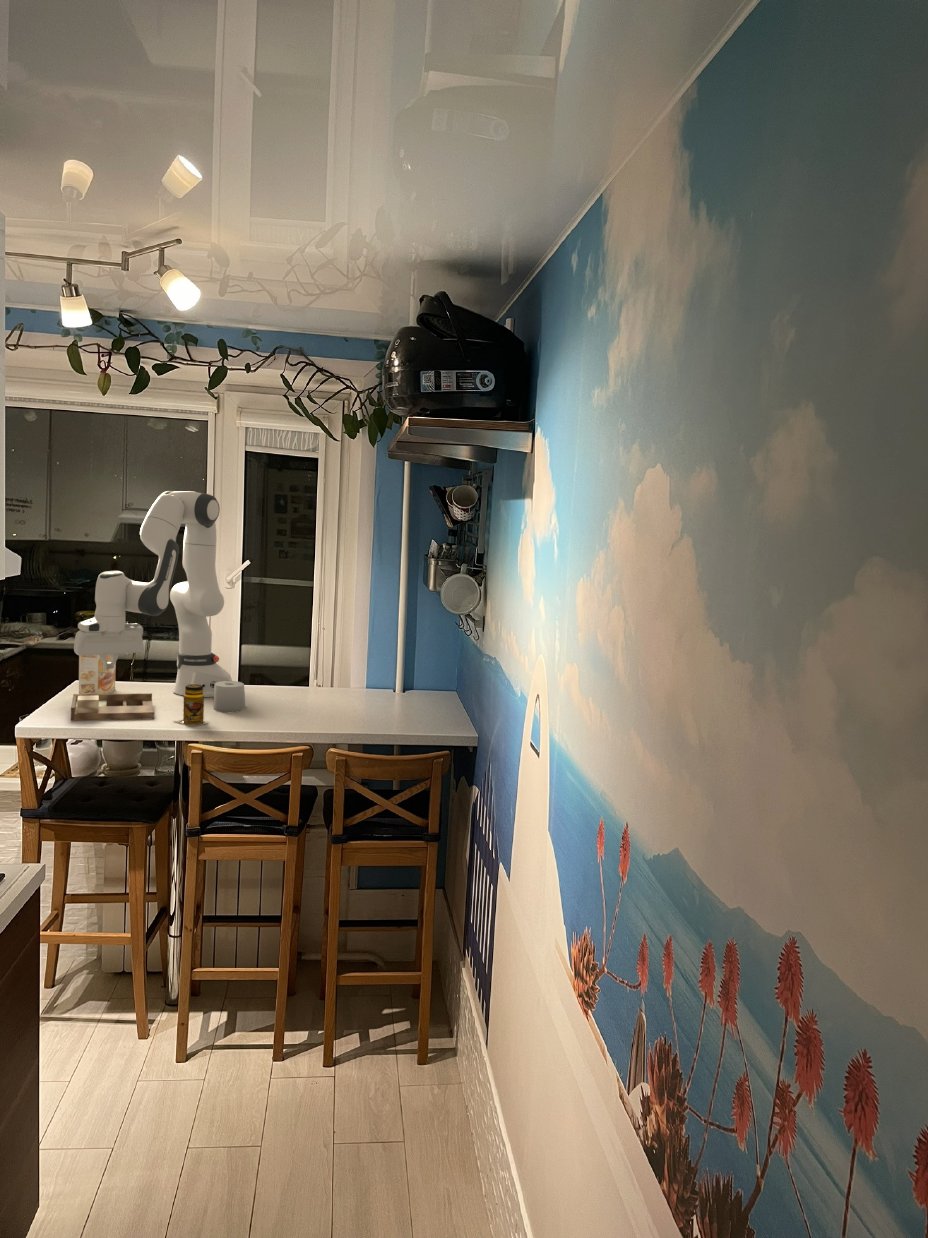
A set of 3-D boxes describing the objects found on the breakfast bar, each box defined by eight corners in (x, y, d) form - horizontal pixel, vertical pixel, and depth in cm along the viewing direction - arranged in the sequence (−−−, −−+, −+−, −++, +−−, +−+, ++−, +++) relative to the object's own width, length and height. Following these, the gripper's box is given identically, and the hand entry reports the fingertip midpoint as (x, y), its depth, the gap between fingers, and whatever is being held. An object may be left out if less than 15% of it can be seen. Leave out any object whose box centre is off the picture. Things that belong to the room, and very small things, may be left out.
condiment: (191, 727, 280) (192, 689, 278) (173, 722, 284) (174, 684, 283) (210, 723, 286) (211, 685, 284) (192, 718, 290) (193, 681, 289)
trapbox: (151, 704, 303) (151, 693, 303) (153, 718, 286) (154, 706, 286) (73, 706, 294) (73, 694, 294) (70, 720, 278) (71, 707, 277)
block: (98, 707, 287) (98, 695, 286) (98, 712, 282) (98, 699, 281) (77, 708, 285) (78, 695, 284) (77, 712, 279) (77, 700, 279)
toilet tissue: (249, 704, 313) (250, 680, 312) (237, 713, 300) (238, 688, 298) (223, 702, 313) (224, 677, 312) (210, 711, 300) (211, 685, 299)
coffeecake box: (98, 699, 306) (99, 641, 303) (77, 697, 306) (78, 640, 304) (116, 689, 321) (117, 635, 318) (96, 688, 321) (97, 633, 318)
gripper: (139, 621, 289) (137, 664, 291) (72, 623, 276) (71, 668, 277) (147, 624, 285) (145, 668, 286) (79, 626, 271) (78, 672, 273)
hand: (108, 668), depth 282 cm, fingers closed
